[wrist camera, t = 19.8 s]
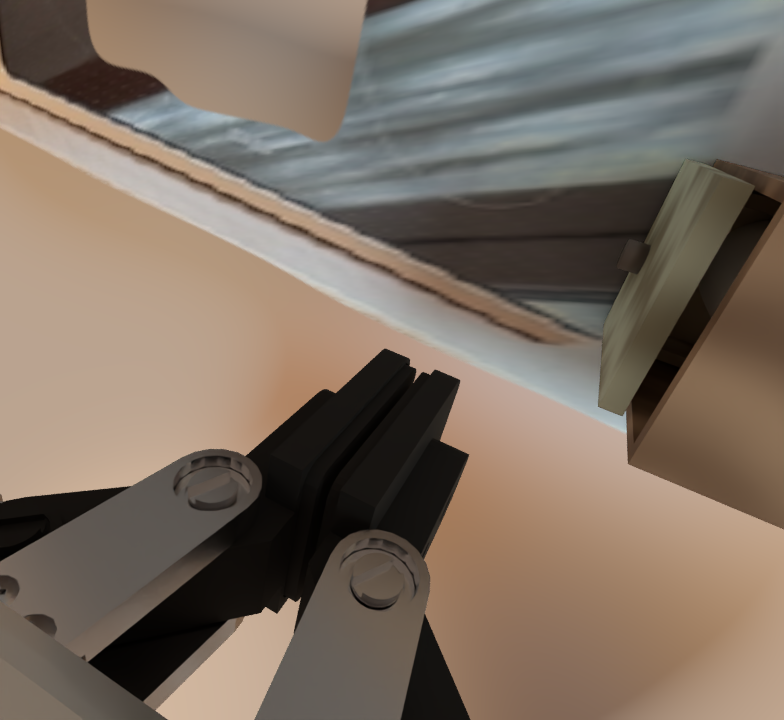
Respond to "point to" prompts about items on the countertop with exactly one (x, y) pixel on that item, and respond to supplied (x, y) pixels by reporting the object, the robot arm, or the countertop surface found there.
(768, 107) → the countertop surface
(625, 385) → the green-fronted drawer
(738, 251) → the beverage can
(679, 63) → the countertop surface
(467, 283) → the countertop surface
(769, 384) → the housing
